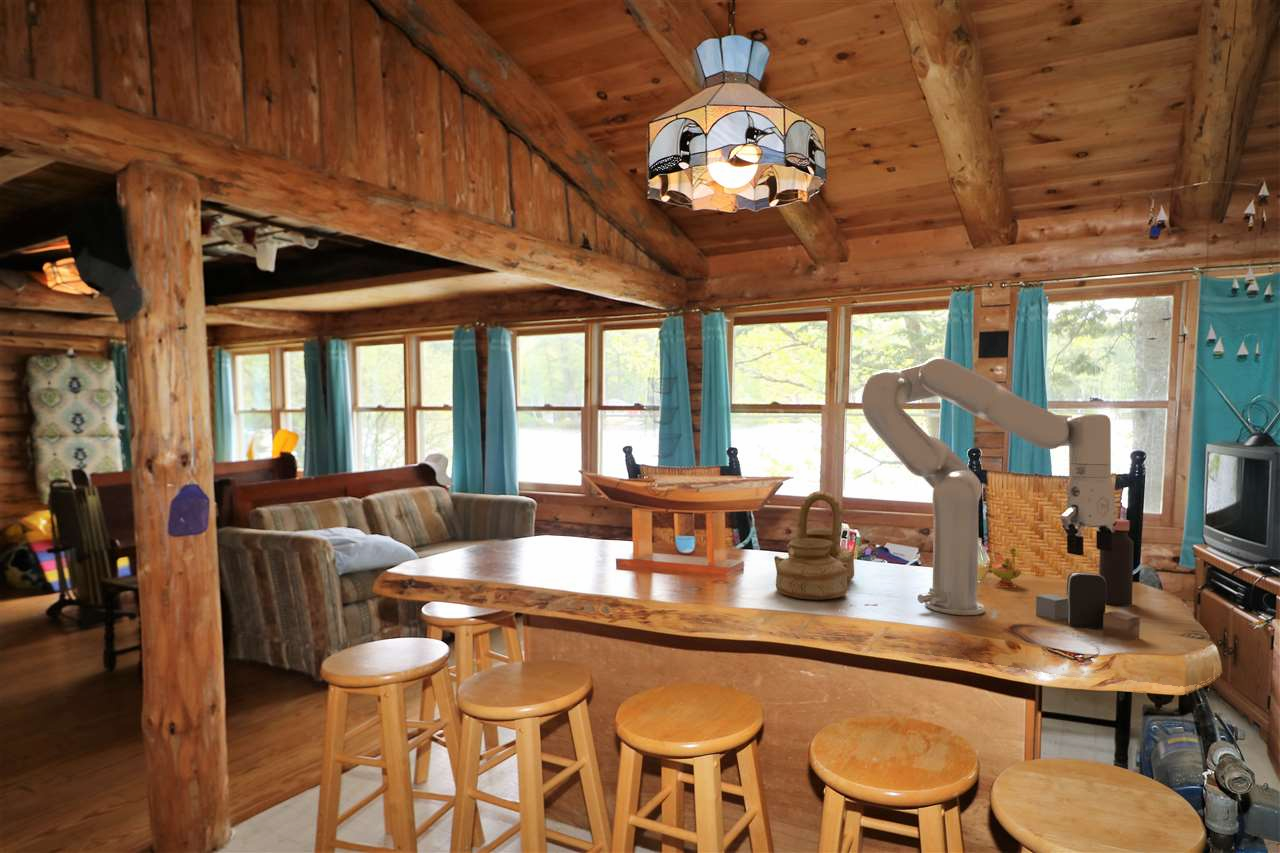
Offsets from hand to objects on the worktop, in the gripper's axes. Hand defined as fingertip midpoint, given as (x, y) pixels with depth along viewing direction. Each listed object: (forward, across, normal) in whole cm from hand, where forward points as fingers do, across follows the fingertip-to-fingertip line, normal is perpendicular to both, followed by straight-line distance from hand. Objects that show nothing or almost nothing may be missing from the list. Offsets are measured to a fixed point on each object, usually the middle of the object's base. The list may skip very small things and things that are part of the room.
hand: (1090, 552), depth 153 cm
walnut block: (+16, -1, -7) cm, 18 cm away
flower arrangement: (+16, +16, +34) cm, 41 cm away
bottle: (+16, +24, +10) cm, 31 cm away
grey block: (+16, -1, +8) cm, 18 cm away
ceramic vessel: (+15, -32, +52) cm, 62 cm away
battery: (+16, -1, +1) cm, 16 cm away
